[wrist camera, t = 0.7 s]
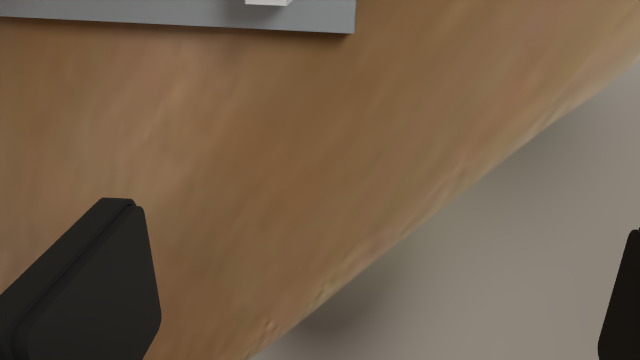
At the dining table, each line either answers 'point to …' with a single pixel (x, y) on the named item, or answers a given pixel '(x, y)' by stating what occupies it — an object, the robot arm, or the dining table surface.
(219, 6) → the holder
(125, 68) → the dining table surface
